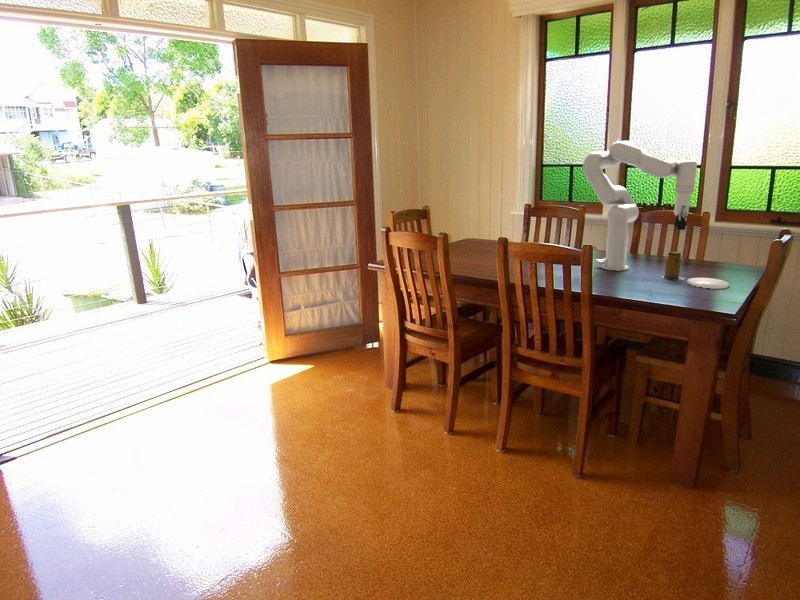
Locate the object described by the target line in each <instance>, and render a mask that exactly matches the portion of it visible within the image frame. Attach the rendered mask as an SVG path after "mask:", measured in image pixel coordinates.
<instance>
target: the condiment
mask: <svg viewBox="0 0 800 600" xmlns="http://www.w3.org/2000/svg"><path fill="white" fill-rule="evenodd" d="M681 256H682V253H681V252H680V251H669V252H668V254H667V257H666V262H665V268H664V269H665V271H664V276H665V278H664V276H660V278H663V279H666V280H672V281H681V280H682V281H683V280H686V278H684V277H682V276H680V271H681V264H682V258H681ZM679 278H680V279H679Z"/></svg>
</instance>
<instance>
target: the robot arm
mask: <svg viewBox="0 0 800 600" xmlns="http://www.w3.org/2000/svg"><path fill="white" fill-rule="evenodd" d="M584 158H585V159H584V161H583V163H582V172H583V176H584V177H585V179H586V180H587V182H588V183H589V185H590V186H591V188H592V190H593V191H594V194H595V195H596V197H597V198H598V200H599V202H600V203H601V204H602V205H603V206H606V207H608V206H609V207H610V206H612V207H611V208H610V209H609V210H608V212H607V240H606V251H605V257H604V258H602V259H599V258H596V259H595V264H601V268H602V269H603V270H608V271H614V270H615V271H618V272H619V271H622V270H623V271H627V270H629V267H630V266H629V265H627V264H626V263H627V255H628V254H627V253H628V245H629V244H628V243H629V225H628V223H632V222H635V221H636V220H637V219H638V217H639V214H640V212H639V211H640V210H639V208H638V206H637V204H636V202H635V201H634V199H633V197H632V195H631V194H630V192H628V190H627V189H626V188H625V187H624V186H621V185H618V184H617V185H614V184H612V182H611V181H610V179H609V177H608V176H607V175H606V174H605V173H604V172H603V171H602V170H605V169H610V168H613V167H615V166H617V165H619V164H621V163H624V164H627V165H630V166H632V167H635V168H637V169H638V170H639V171H641V172H643V173H645V174H648V175H651V176H653V177H655V178H660V179H665V178H673V177H674V178H675V187H674V193H675V194H676V195H675V203H674V208H673V214H674V216H675V220H674V227H677V230H681V231H685V230H686V229H687V228H686V227H687V226H686V225H687V216H689V210H690V203H691V202H690V201H691V194H695V193H694V191H695V186H696V185H695V183H696V175H697V167H698V163H697V161H696V160H677V159H669V160H668V159H667V160H663V159H659V158H657V157H654V156H652V155H650V154H648V151H647V149H644V148H642V147H639V146H636V144H635V143H634V142H633V141H630V140H618V141H615V142H613V143H612V144H611V145H610V147H609V150H604V151H595V152H591V153H589V154H588V155H587V156H586V157H584Z"/></svg>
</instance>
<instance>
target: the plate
mask: <svg viewBox="0 0 800 600" xmlns="http://www.w3.org/2000/svg"><path fill="white" fill-rule="evenodd" d="M686 283H687V285H689V284H690V286H692V287H695V286H696V287H695V288H699V287H702V288H701V289H706V288H710V290H724V289H727V288H729V285H730V284H729V282H727V281H725V280H723V279H722V280H721V279H719V278H718V279H717V278H712V277H692V278H688V279H687V281H686Z"/></svg>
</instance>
